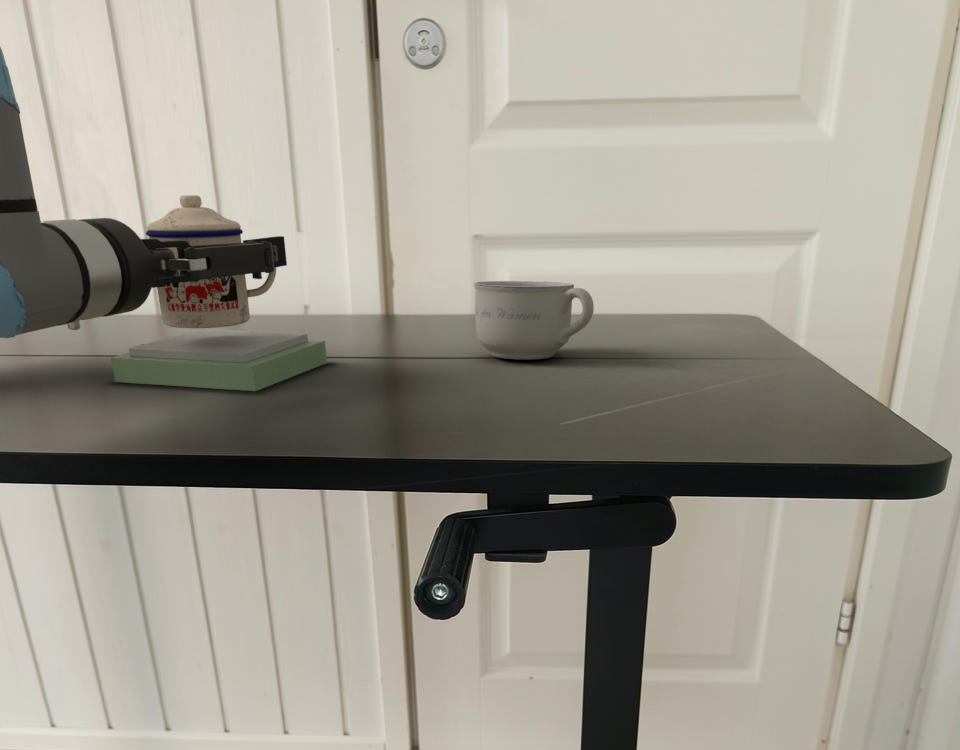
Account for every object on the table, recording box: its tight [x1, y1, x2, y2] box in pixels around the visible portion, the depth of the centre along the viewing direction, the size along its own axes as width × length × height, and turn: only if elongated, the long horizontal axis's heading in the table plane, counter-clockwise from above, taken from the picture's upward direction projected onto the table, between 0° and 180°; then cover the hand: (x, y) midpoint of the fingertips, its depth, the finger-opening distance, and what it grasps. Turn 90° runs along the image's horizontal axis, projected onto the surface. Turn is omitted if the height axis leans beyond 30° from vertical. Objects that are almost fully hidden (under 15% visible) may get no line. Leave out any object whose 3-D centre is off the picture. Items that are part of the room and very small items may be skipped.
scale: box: [110, 328, 328, 392], centre depth 95 cm, size 16×15×3 cm
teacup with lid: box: [145, 194, 277, 329], centre depth 91 cm, size 12×9×12 cm
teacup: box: [473, 280, 595, 361], centre depth 99 cm, size 14×11×8 cm
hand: (232, 250), depth 94 cm, fingers closed on teacup with lid, 11 cm apart
